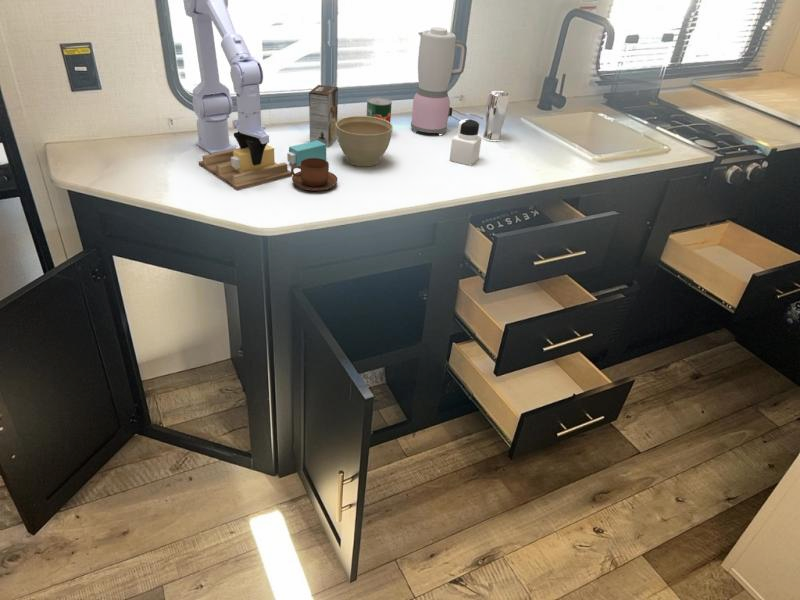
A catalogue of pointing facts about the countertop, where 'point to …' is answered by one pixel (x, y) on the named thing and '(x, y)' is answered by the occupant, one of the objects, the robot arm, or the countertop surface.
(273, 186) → the countertop surface
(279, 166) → the comb board
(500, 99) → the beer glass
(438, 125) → the blender
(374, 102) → the canned tomato
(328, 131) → the coffee box
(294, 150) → the teal plug block
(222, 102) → the robot arm
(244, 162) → the ochre plug block
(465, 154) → the medicine bottle
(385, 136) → the planter bowl
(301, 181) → the cup and saucer
